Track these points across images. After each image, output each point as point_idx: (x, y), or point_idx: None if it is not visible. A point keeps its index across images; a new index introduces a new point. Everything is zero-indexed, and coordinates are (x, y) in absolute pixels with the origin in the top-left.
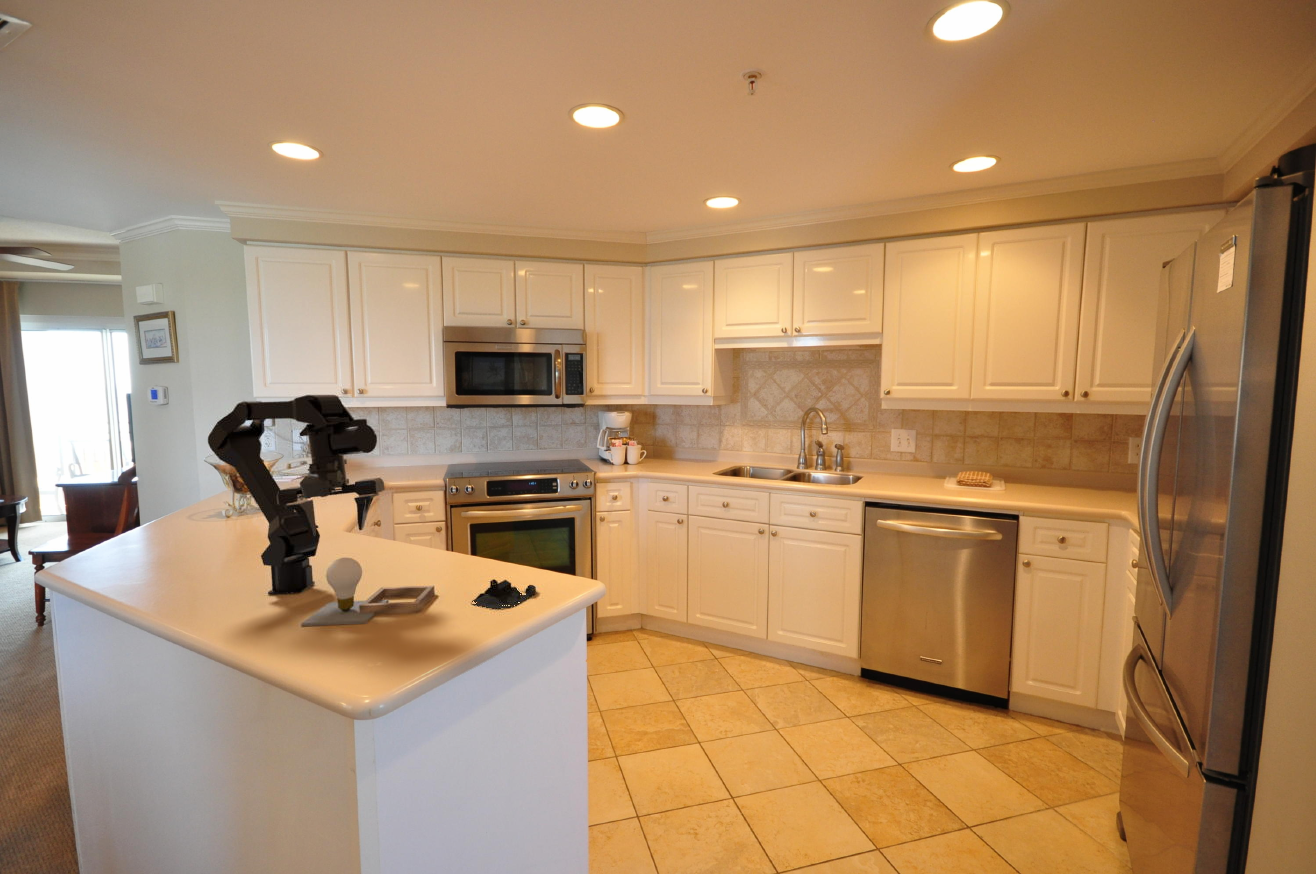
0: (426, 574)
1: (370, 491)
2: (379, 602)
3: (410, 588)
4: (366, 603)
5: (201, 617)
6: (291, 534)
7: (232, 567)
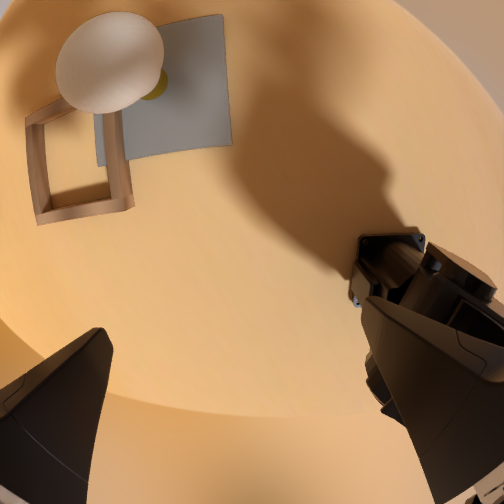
0: (129, 345)
1: None
2: None
3: (65, 208)
4: None
5: (464, 110)
6: (462, 299)
7: None
